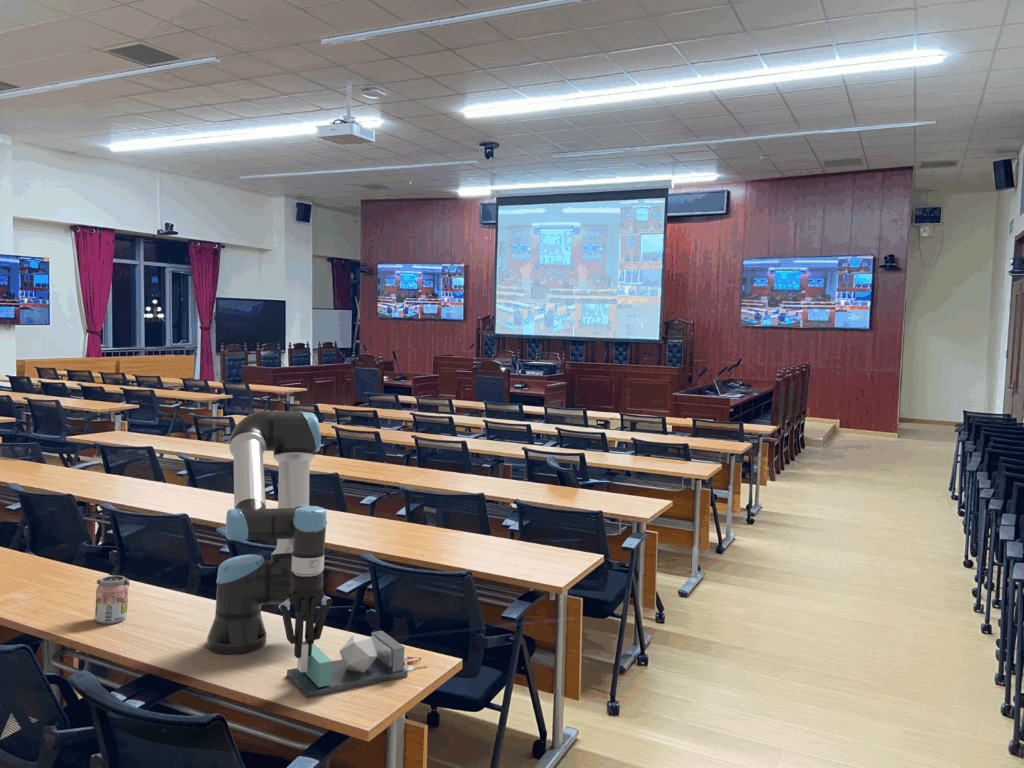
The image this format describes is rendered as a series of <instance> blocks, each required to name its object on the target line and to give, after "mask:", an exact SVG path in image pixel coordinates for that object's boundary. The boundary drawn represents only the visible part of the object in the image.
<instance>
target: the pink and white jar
mask: <svg viewBox="0 0 1024 768" xmlns="http://www.w3.org/2000/svg"><path fill="white" fill-rule="evenodd" d="M96 584H97V585H98V586H97V587H96V591H95V612H94V613H95V614H94V619H95V621H96V622H97V623H98V624H100V625H114V624H118V623H121V622H123V621H125V620H126V618H127V617H128V603H129V586H130V585H131V583H130V580H129V578H127V577H125V576H124V575H108V576H104V577H101V578H97V579H96Z"/></svg>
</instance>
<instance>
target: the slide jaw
mask: <svg viewBox="0 0 1024 768" xmlns="http://www.w3.org/2000/svg"><path fill="white" fill-rule="evenodd" d="M304 673H305V674H306V675H307V676H308V677H309V678H310V679H311V680H312V681H313V682H314V683H315V684H316V685H317V686H318V687H323V686H328V685H331V673H332V660H331V658H329V656H327V654H325V653H324V652H323V651H322V650H321V649H320V648H319V646H317V645H316V644H314V643H313V644H312V654H311V656H308V662H307V671H306V672H304Z"/></svg>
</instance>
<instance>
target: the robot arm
mask: <svg viewBox="0 0 1024 768" xmlns="http://www.w3.org/2000/svg"><path fill="white" fill-rule="evenodd" d="M320 428H321V427H320V422H319V419H318V417H317V415H316V414H315V413H313V412H307V411H300V410H299V411H295V410H294V411H293V410H292V411H291V410H289V411H288V410H284V411H283V410H282V411H281V410H259V411H254V412H252V413H249V414H248V415H247V416H245V417H243V418H242V419H241V420H240V421H239V422H238V423H237V424H236V425H235V427H234V428H233V431H232V432H231V435H230V438H229V451H230V453H231V455H232V456H233V500H234V501H233V502H234V503H233V505H234V507H233V509H232V508H231V509H228V510H227V511H226V520H225V537H226V539H228V540H229V541H242V542H246V541H260V540H276V541H277V542H276V543H277V545H276V548H275V549H274V550H273V552H271V554H270V556H271V557H270V560H265V559H264V557H263V555H260V554H253V553H252V554H243V555H237V556H233V557H230V558H228V559H226V560H224V561H222V562H221V563H220V565H219V566H218V570H217V578H216V580H215V583H216V585H217V586H216V595H215V597H216V601H215V613H214V614H215V615H214V619H213V621H212V625H211V627H210V630H209V632H208V635H207V638H206V640H207V641H206V647H207V649H208V650H209V651H211V652H213V653H218V654H223V655H238V654H239V655H240V654H246V653H250V652H254V651H257V650H259V649H261V648H263V647H265V645H266V643H267V630H266V627H265V624H264V621H263V617H262V605H277V607H278V609H279V610H280V612H281V615H282V619H283V620H282V621H283V625H284V630H285V635H286V640H287V641H288V642H289V643H290V644H291V645H293V644H294V650H293V651H294V652H293V654H294V657H295V658H296V659H297V663H296V664H297V665H296V666H297V667H296V668H297V669H298V670H299V671H300V672H306V671H307V662H308V656H311V654H312V644H314V643H315V641H316V640H320V638H321V637H322V632H323V630H324V625H325V622H326V619H327V614H328V612H329V611H328V610H329V608H330V607H331V606H332V604H333V601H334V600H333V599H332V598H331V597H329V596H327V595H325V594H324V593H325V592H324V591H323V588H324V587H323V586H324V573H323V571H324V569H325V567H324V566H325V549H326V548H325V545H326V531H327V529H326V528H327V524H328V521H327V510H326V509H325V508H324V507H320V506H319V505H310V464H311V461H313V459H315V458H316V453H317V452H319V451H321V445H322V444H321V443H322V442H321V439H322V437H321V429H320ZM265 452H273V459H274V460H275V461H276V462H277V463H278V481H277V482H278V485H277V487H278V488H277V489H278V491H277V492H278V494H277V498H278V499H277V508H267V504H266V502H267V501H266V486H265V469H264V466H265V465H264V453H265ZM319 604H320V605H319ZM290 605H291V606H290ZM318 606H319V608H318V612H317V615H316V609H317V607H318ZM291 607H293V609H294V614H295V618H294V619H295V621H294V626H293V622H292V616H291V613H290V609H291ZM315 615H316V619H315ZM304 621H305V626H304ZM304 627H305V628H304ZM303 636H304V637H303ZM303 639H304V640H303Z"/></svg>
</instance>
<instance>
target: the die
mask: <svg viewBox="0 0 1024 768" xmlns="http://www.w3.org/2000/svg"><path fill="white" fill-rule="evenodd" d="M339 654H340V656H341V658H342V659H341V660H343V662H344V665H345V668H346V669H347V670H352V671H358V672H363V673H364V672H365V671H366V670H367V669H368V668H369V666H370V665H371V664H372V663H373V661H374V660H375V659H376V658H377V653H376V651H375V648H374V645H373V642H372V639H371V637H366V636H360V635H354V634H353V635H352V636H351V637H350V638H349V639H348V640H347V642H346V643H345V644H344V645H343V646H342V647H341V648H340V650H339Z"/></svg>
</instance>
